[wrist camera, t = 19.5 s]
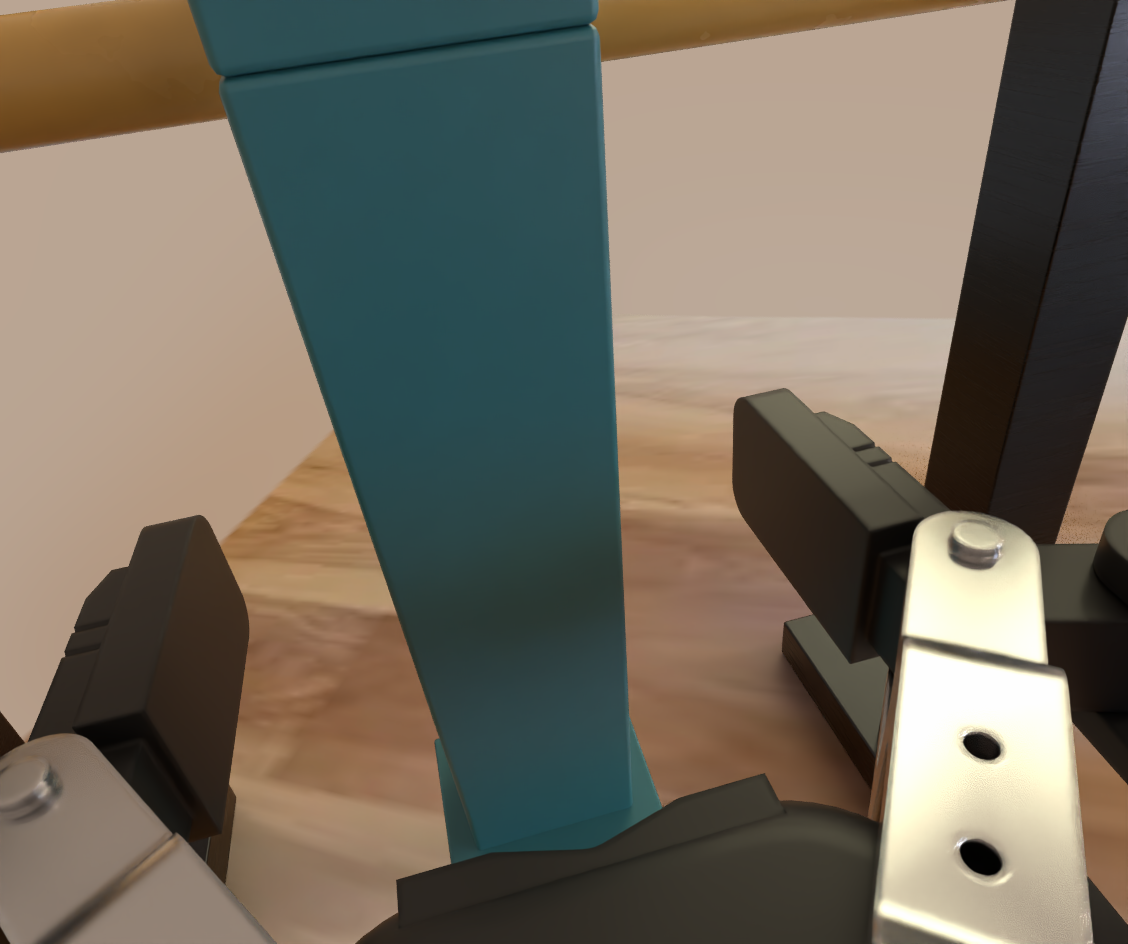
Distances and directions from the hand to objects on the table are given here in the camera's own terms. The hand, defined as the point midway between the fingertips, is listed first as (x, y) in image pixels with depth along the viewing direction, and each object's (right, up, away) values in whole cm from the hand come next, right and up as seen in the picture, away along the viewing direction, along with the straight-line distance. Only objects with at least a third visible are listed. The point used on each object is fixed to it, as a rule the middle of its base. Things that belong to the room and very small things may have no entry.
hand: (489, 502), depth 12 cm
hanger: (0, -5, +6) cm, 7 cm away
